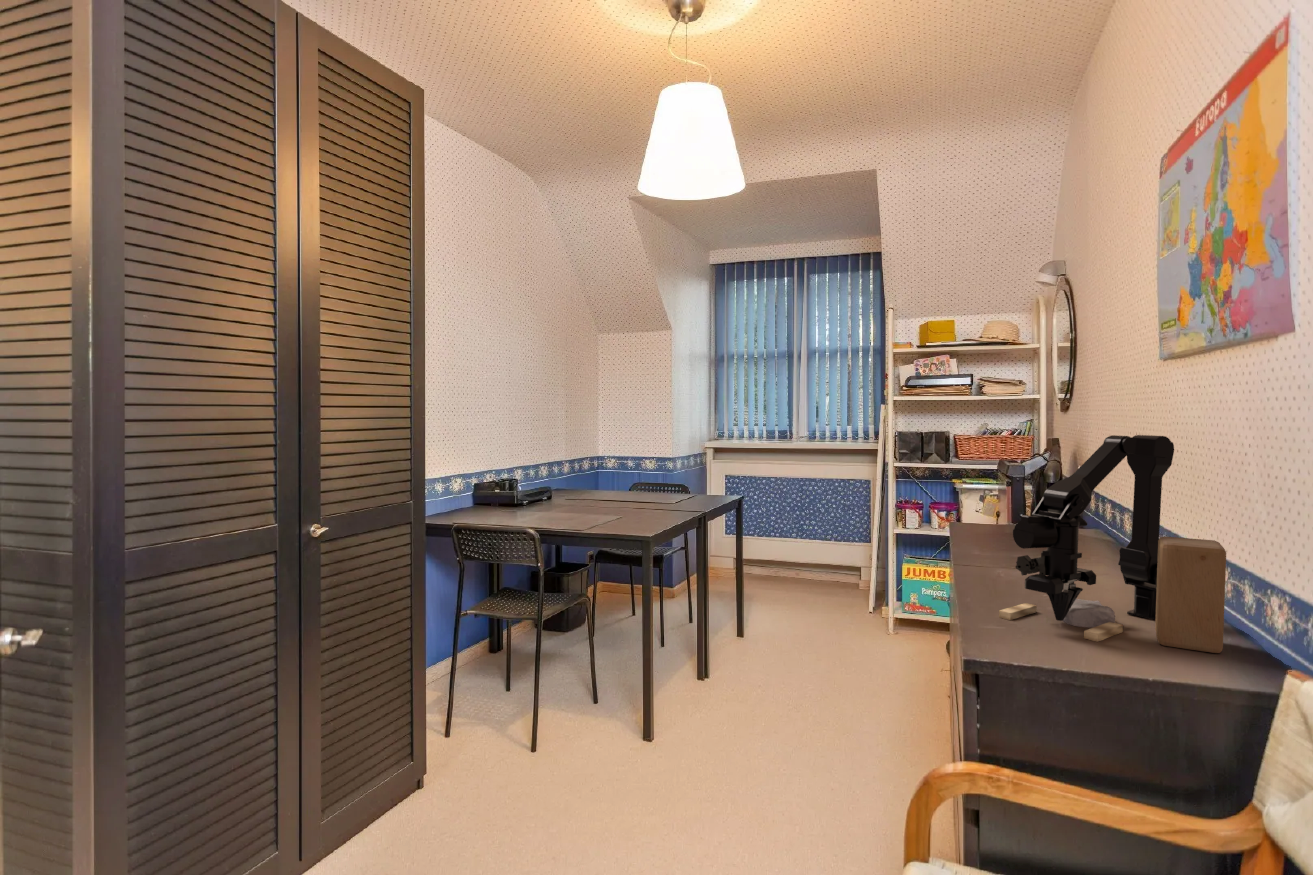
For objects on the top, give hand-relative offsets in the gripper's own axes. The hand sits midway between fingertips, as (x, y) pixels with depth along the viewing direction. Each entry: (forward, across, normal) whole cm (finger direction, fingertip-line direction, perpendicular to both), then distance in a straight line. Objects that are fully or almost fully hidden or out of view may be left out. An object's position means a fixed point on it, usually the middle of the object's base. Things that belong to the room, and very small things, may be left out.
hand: (1059, 620), depth 153 cm
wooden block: (+1, -8, +20) cm, 22 cm away
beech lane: (+1, 0, 0) cm, 1 cm away
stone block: (+1, -8, +1) cm, 8 cm away
